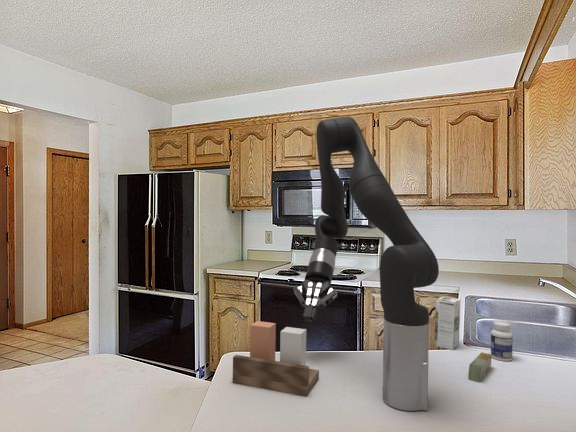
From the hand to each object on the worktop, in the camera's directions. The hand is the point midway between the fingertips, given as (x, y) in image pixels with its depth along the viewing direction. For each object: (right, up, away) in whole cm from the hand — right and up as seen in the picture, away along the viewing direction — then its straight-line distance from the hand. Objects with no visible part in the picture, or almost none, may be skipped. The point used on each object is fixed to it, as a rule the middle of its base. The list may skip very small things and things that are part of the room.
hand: (308, 320), depth 102 cm
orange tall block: (-12, -9, -7) cm, 16 cm away
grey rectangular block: (-4, -9, -11) cm, 15 cm away
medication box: (+43, -13, -4) cm, 45 cm away
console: (-8, -11, -10) cm, 17 cm away
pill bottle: (+55, -13, +7) cm, 57 cm away
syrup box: (+43, -13, +17) cm, 48 cm away
